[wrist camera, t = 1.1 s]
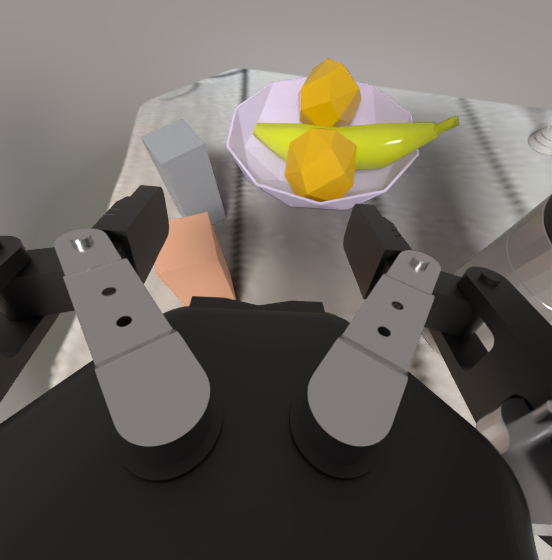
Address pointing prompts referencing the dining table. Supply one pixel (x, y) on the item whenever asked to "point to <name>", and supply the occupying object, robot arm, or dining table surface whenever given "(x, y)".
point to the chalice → (542, 141)
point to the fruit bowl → (326, 139)
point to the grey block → (185, 170)
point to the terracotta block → (194, 260)
